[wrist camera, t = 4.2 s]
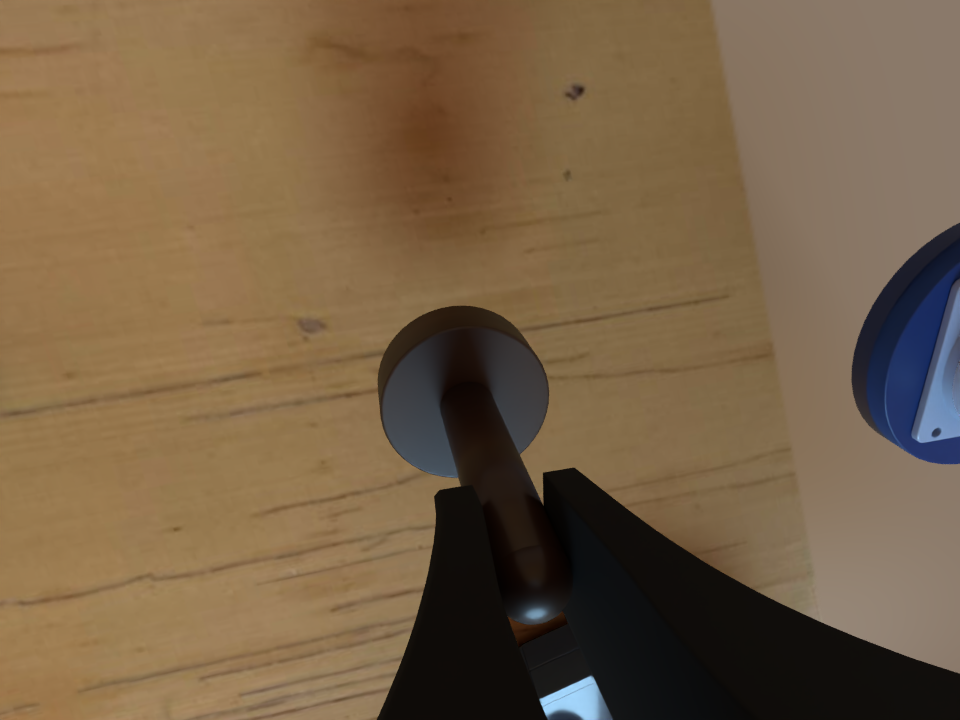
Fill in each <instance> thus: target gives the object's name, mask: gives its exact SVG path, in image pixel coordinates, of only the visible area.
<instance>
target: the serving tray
mask: <svg viewBox="0 0 960 720" xmlns="http://www.w3.org/2000/svg"><path fill="white" fill-rule="evenodd" d="M519 649H520V652H521V654H522V657H523V660H524V662H525V665H526V667H527V670H528V672H529V675H530V678H531V680H532V683H533V685H534V688H535V690H536V693H537V695H538V698H539V700H540V702H541V705H542V707H543V709H544V712H545V714H546V717H547V719H548V720H613V718H612V716H611V714H610V712H609V710H608V708H607V706H606V703H605V701H604V699H603V697H602V695H601V693H600V691H599V688H598V686H597V684H596V682H595V680H594V678H593V676H592V673H591V671H590V669H589V667H588V665H587V663H586V661H585V658H584V656H583V654H582V652H581V650H580V648H579V646H578V643H577V641H576V639H575V637H574V635H573V633H572V630H571V628H570V626H569V624H566V625H564V626H562V627H560V628H557V629H555V630H553V631H551V632H549V633H547V634H544V635H542V636H540V637H538V638H536V639H534V640H531V641H529V642H527V643H525V644H523V645H522V646H520V647H519Z"/></svg>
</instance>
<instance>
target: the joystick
mask: <svg viewBox="0 0 960 720" xmlns="http://www.w3.org/2000/svg"><path fill="white" fill-rule="evenodd" d="M378 394H379V405H380V415H381V421H382V426H383V429H384V432H385V434H386V437H387V438H388V440H389V442H390V444H391V445H392V447H393V448H394V449H395V450H396V452H397V453H398V454H399V455H400V456H401V457H402V458H403V459H404V460H406V461H407V462H409V463H410V464H411V465H413V466H415V467H416V468H418V469H420V470H422V471H425V472H427V473H430V474H434V475H438V476H442V477H451V478H459V481H460V485H461V486H467V485H473V487H474V489H475V491H476V493H477V495H478V498H479V500H480V502H481V505H482V507H483V512H484V517H485V522H486V527H487V532H488V537H489V542H490V547H491V552H492V557H493V562H494V567H495V572H496V577H497V582H498V587H499V590H500V594H501V598H502V602H503V605H504V608H505V611H506V614H507V616H508V617H510V618H511V619H512V620H514V621H517V622H520V623H523V624H528V625H535V624H541V623H545V622H547V621H549V620H551V619H553V618H555V617H556V616H557V615H559V614H560V613H561V612H562V611H563V609H564V608H565V606H566V605H567V603H568V601H569V600H570V597H571V594H572V589H573V573H572V569H571V565H570V562H569V560H568V558H567V556H566V554H565V552H564V549H563V547H562V545H561V543H560V541H559V539H558V537H557V534H556V532H555V530H554V528H553V526H552V524H551V521H550V519H549V517H548V515H547V513H546V511H545V508H544V506H543V504H542V502H541V500H540V498H539V496H538V493H537V491H536V489H535V487H534V485H533V483H532V480H531V478H530V476H529V474H528V472H527V470H526V468H525V465H524V463H523V461H522V459H521V457H520V454H521V453H522V452H523V451H524V450H525V449H526V448H527V447H528V446H529V445H530V443H531V442H532V441H533V440H534V438H535V437H536V435H537V434H538V432H539V430H540V428H541V426H542V424H543V422H544V419H545V416H546V413H547V408H548V403H549V387H548V380H547V376H546V373H545V370H544V368H543V365H542V364H541V362H540V360H539V358H538V357H537V355H536V354H535V352H534V351H533V350H532V348H531V347H530V345H529V344H528V342H527V341H526V340H525V338H524V337H523V335H522V334H521V333H520V332H519V330H518V329H517V328H516V327H515V326H514V325H513V324H512V323H511V322H509V321H508V320H506V319H505V318H504V317H502V316H500V315H498V314H496V313H494V312H492V311H489V310H486V309H483V308H478V307H473V306H451V307H445V308H440V309H437V310H434V311H431V312H428V313H426V314H424V315H422V316H420V317H418V318H417V319H415V320H413V321H412V322H410V323H409V324H408V325H407V326H405V327H404V328H403V329H402V330H401V331H400V332H399V333H398V334H397V335H396V336H395V337H394V339H393V340H392V341H391V343H390V344H389V346H388V348H387V349H386V351H385V353H384V355H383V358H382V361H381V363H380V368H379V372H378Z"/></svg>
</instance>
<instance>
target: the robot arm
mask: <svg viewBox="0 0 960 720" xmlns="http://www.w3.org/2000/svg"><path fill="white" fill-rule="evenodd" d="M911 436H912V438H913V439H915V440H917V441H918V442H920V443H925V442H931V441H936V440H942V439H947V438H953V437H958V436H960V278H959V279H958V280H957V281H955V283H954V284H953V285H952V287H951V290H950V294H949V298H948V301H947V305H946V308H945V312H944V316H943V319H942V323H941V327H940V330H939V334H938V338H937V341H936V345H935V348H934V352H933V356H932V359H931V363H930V367H929V370H928V374H927V378H926V381H925V385H924V388H923V392H922V396H921V399H920V403H919V407H918V410H917V414H916V418H915V421H914V425H913V428H912V434H911ZM543 498H544V508H545V511H546V513H547V515H548V517H549V519H550V521H551V524H552V526H553V528H554V530H555V532H556V534H557V537H558V539H559V541H560V543H561V545H562V547H563V549H564V552H565V554H566V556H567V558H568V560H569V562H570V565H571V569H572V573H573V589H572V594H571V597H570V600H569V601H568V603H567V605H566V606H565V608H564V609H563V613H564V615H565V617H566V620H567V622H568V624H569V626H570V628H571V630H572V633H573V635H574V637H575V639H576V641H577V643H578V646H579V648H580V650H581V652H582V654H583V656H584V658H585V661H586V663H587V665H588V667H589V669H590V671H591V673H592V676H593V678H594V680H595V682H596V684H597V686H598V688H599V691H600V693H601V695H602V697H603V699H604V701H605V703H606V706H607V708H608V710H609V712H610V714H611V716H612V718H613V720H960V674H959V673H955V672H953V671H949V670H947V669H943V668H940V667H937V666H934V665H931V664H928V663H925V662H922V661H919V660H916V659H913V658H910V657H907V656H904V655H902V654H899V653H896V652H894V651H891V650H889V649H886V648H883V647H881V646H878V645H875V644H873V643H870V642H868V641H865V640H862V639H860V638H857V637H855V636H852V635H850V634H848V633H845V632H843V631H840V630H838V629H836V628H833V627H831V626H828V625H826V624H824V623H821V622H819V621H817V620H815V619H813V618H811V617H808V616H806V615H804V614H802V613H800V612H798V611H795V610H793V609H791V608H789V607H787V606H785V605H782V604H780V603H778V602H776V601H774V600H772V599H770V598H768V597H766V596H764V595H762V594H760V593H758V592H756V591H755V590H753V589H751V588H749V587H747V586H746V585H744V584H742V583H740V582H738V581H736V580H735V579H733V578H731V577H729V576H727V575H725V574H724V573H722V572H720V571H718V570H717V569H715V568H713V567H712V566H710V565H708V564H707V563H705V562H703V561H702V560H700V559H699V558H697V557H696V556H694V555H692V554H691V553H689V552H688V551H686V550H685V549H683V548H682V547H680V546H678V545H677V544H675V543H674V542H672V541H671V540H669V539H668V538H666V537H665V536H664V535H662V534H661V533H659V532H658V531H656V530H655V529H654V528H652V527H651V526H649V525H648V524H647V523H645V522H644V521H642V520H641V519H640V518H638V517H637V516H636V515H634V514H633V513H632V512H630V511H629V510H628V509H626V508H625V507H624V506H622V505H621V504H620V503H619V502H617V501H616V500H615V499H613V498H612V497H611V496H610V495H608V494H607V493H606V492H605V491H603V490H602V489H601V488H599V487H598V486H597V485H596V484H594V483H593V482H592V481H591V480H589V479H588V478H587V477H586V476H584V475H583V474H582V473H580V472H579V471H578V470H577V469H575V468H569V469H563V470H557V471H551V472H545V473H543ZM434 499H435V509H436V527H435V536H434V544H433V549H432V555H431V560H430V566H429V571H428V576H427V580H426V584H425V588H424V592H423V595H422V599H421V603H420V607H419V610H418V614H417V617H416V621H415V624H414V627H413V630H412V633H411V636H410V639H409V642H408V645H407V647H406V650H405V653H404V656H403V659H402V661H401V664H400V666H399V669H398V671H397V674H396V676H395V679H394V681H393V683H392V686H391V688H390V691H389V693H388V696H387V698H386V700H385V703H384V705H383V707H382V709H381V712H380V714H379V716H378V718H377V720H548V719H547V717H546V714H545V712H544V709H543V707H542V705H541V702H540V700H539V698H538V695H537V693H536V690H535V688H534V685H533V683H532V680H531V678H530V675H529V672H528V670H527V667H526V665H525V662H524V660H523V657H522V654H521V652H520V649H519V647H518V644H517V641H516V638H515V636H514V633H513V630H512V627H511V625H510V622H509V619H508V616H507V614H506V611H505V608H504V605H503V602H502V598H501V594H500V590H499V587H498V582H497V577H496V572H495V567H494V562H493V557H492V552H491V547H490V542H489V537H488V532H487V527H486V522H485V517H484V512H483V507H482V505H481V502H480V500H479V498H478V495H477V493H476V491H475V489H474V487H473V485H467V486H461V487H455V488H449V489H443V490H439V491H438V493H437V494H436V495H435V496H434Z"/></svg>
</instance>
